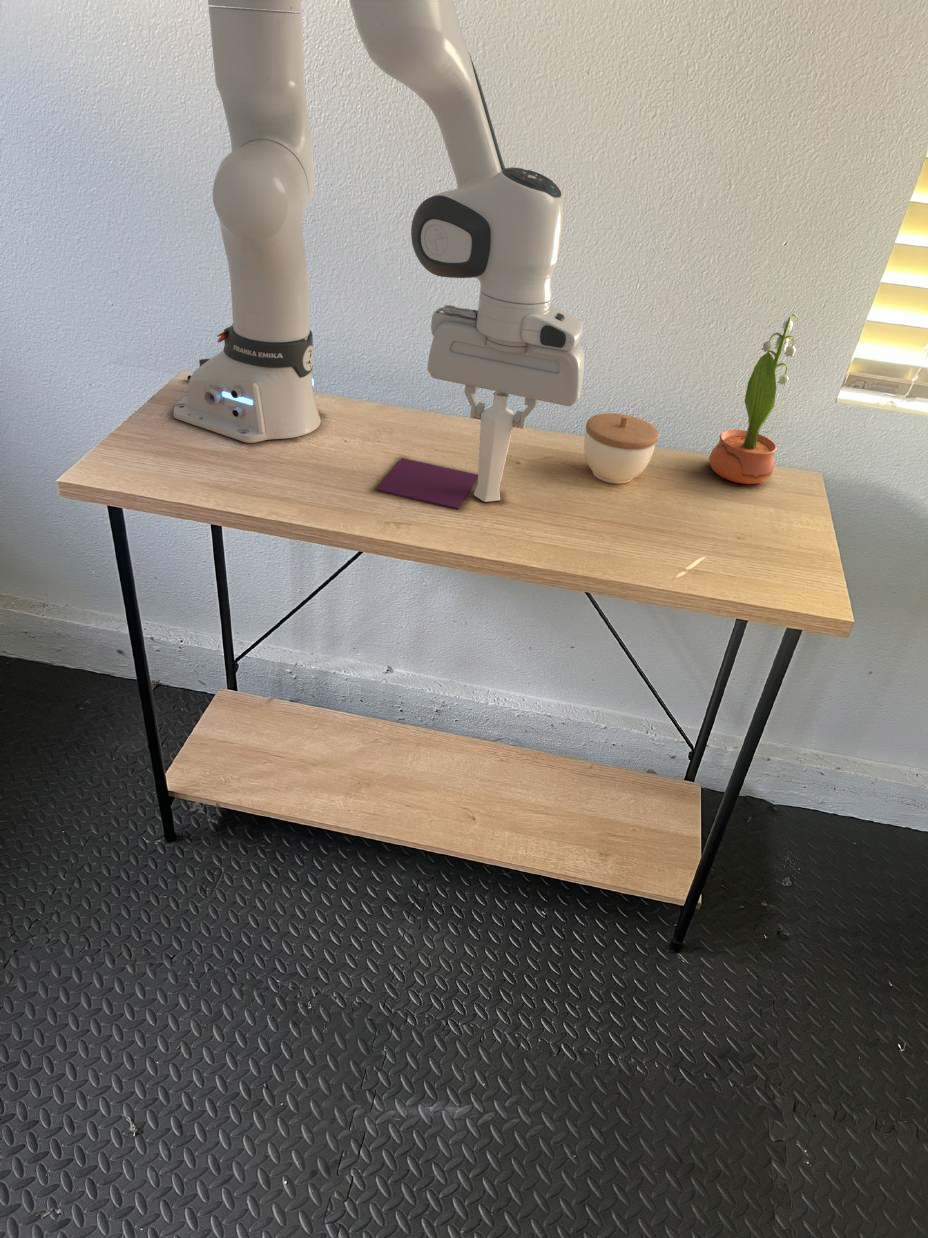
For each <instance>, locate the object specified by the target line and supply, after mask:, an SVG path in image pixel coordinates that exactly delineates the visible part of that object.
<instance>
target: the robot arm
mask: <svg viewBox="0 0 928 1238" xmlns="http://www.w3.org/2000/svg"><path fill="white" fill-rule="evenodd" d="M348 1H349V4H350V9H351V12H352V16H353V20H354V24H355V27H356V31H357V32H358V35H359V37H360V40H361V42H362V44H363V46H364V48H365V51H366V52H367V55H368V56H369V58H370V60H371V61H372V62H373V64H375V66H377V68H379V70H381V72H383V73H384V74H386V75H387V76H389V77H391V78H393V79H394V80H396V81H398V82H399V83H400V84H402V85H404V86H405V87H407V88H408V89H409V90H411V91H412V92H413V93H415V94H416V95H417V96H418V97H419V98H420V99H421V100H422V101H423V102H424V103H425V104H426V106H428V108H429V110H430V111H431V113H432V114H433V115H434V117H435V119H436V122H437V124H438V127H439V129H440V133H441V136H442V140H443V142H444V145H445V149H446V152H447V155H448V158H449V161H450V164H451V167H452V170H453V174H454V177H455V181H456V188H454V189H450V190H446V191H441V192H439V193H436V194H433V195H431V196H430V197H427V198H426V199H425V200H423V201H422V202H421V203H420V204H419V205H418V207H417V208H416V210H415V212H414V213H413V214H414V215H413V217H412V221H411V228H410V237H411V244H412V248H413V252H414V254H415V256H416V258H417V260H418V261H419V263H420V264H421V266H422V267H423V269H425V270H426V271H428V272H429V273H430V274H432V275H435V276H436V277H441V278H448V279H450V278H451V279H472V278H474V279H477V280H478V281H479V284H480V290H479V296H478V305H477V309H471V308H463V307H457V306H454V305H451V304H445V305H444V306H442V307H438V308H437V309H436V310H435V311H433V313H432V316H431V322H430V323H431V324H430V331H431V334H432V336H433V337H432V340H431V344H430V350H429V354H428V360H427V372H428V374H429V375H430V376H431V378H433V379H435V380H441V381H446V382H450V383H455V384H459V385H464V395H465V397H466V399H467V402H468V403H469V406H470V413H469V414H470V415H469V417H470V418H471V419H476V420H480V421H481V412H482V411H484V410H486V409H485V408H486V403H484V402H480V400H479V397H478V394H477V392H478V391H479V389H482V390H483V389H484V390H489V391H493V392H496V391H497V392H502V393H507V394H509V395H512V396H516V397H521V398H525V399H524V405H525V406H526V407H525V408H524V410H523V411H522V410H516V411H515V413H514V422H513V428H517V429H521V430H524V429H525V427H526V424H527V420H528V415H529V414H530V413H531V412H532V411H533V410H534V409H535V407H536V405H537V404H538V403H539V401H540V402H546V403H550V404H554V405H559V406H564V407H572V406H574V405H575V404H576V403H577V402H578V401H579V399H580V397H581V395H582V391H583V383H584V375H585V351H584V348H583V346H582V345H581V343H580V341H581V338H582V335H583V331H584V324H583V322H582V321H581V320H579V319H578V318H577V317H574V316H573V315H570V314H569V313H567V312H565V311H563V310H562V309H560V308H558V307H557V306H555V305H554V304H552V299H553V298H552V297H553V290H552V277H553V273H554V271H555V268H556V266H557V264H558V261H559V255H560V249H561V248H560V247H561V242H562V241H561V240H562V232H563V220H564V202H563V200H564V199H563V194H562V191H561V189H560V187H559V186H558V185H557V184H556V183H555V182H554V181H553V179H550V178H549V177H547V176H545V175H544V174H541V173H539V172H536V171H534V170H531V169H524V168H523V167H522V168H521V167H514V166H513V167H506V166H505V163H504V161H503V158H502V154H501V150H500V148H499V143H498V140H497V137H496V133H495V129H494V126H493V123H492V119H491V116H490V113H489V108H488V105H487V102H486V98H485V96H484V95H485V94H484V91H483V89H482V85H481V82H480V78H479V76H478V73H477V70H476V68H475V65H474V62H473V60H472V56H471V54H470V50H469V48H468V46H467V43H466V41H465V38H464V37H465V36H464V34H463V31H462V29H461V25H460V22H459V18H458V14H457V10H456V7H455V3H454V0H348ZM207 4H208V15H209V26H210V37H211V49H212V57H213V60H212V61H213V70H214V79H215V80H214V81H215V85H216V88H217V91H218V93H219V95H220V98H221V102H222V106H223V110H224V114H225V119H226V123H227V129H228V133H229V138H230V145H231V146H230V147H231V152H230V153H228V154H227V155H225V157H224V158H223V159H222V161H221V162H220V164H219V166H218V168H217V169H216V173H215V176H214V180H213V185H212V203H213V207H214V210H215V213H216V214H217V217H218V221H219V226H220V232H221V237H222V242H223V248H224V252H225V255H226V261H227V265H228V273H229V279H230V280H229V281H230V294H231V295H230V297H231V298H230V299H231V313H232V314H231V315H232V325H230V326H228V327H226V328H224V329H223V331H222V332H221V333H219V334H217V335H216V337H218V339H217V343H222V342H224V346H223V350H221V351H220V352H218V353H217V354H215V355H214V356H212V357H211V358H201V359H199V361H198V362H199V367H198V368H196V369H195V370H194V371H193V373H192V374H189V375H187V380H188V386H187V394H186V395H185V396H184V397H182V398H181V399H180V400H178V401H177V402H176V403H175V405H174V407H173V418H174V419H176V420H179V421H182V422H185V423H187V424H190V425H193V426H196V427H199V428H202V429H205V430H208V431H210V432H213V433H216V434H220V435H222V436H225V437H228V438H231V439H233V440H237V441H239V442H243V443H246V444H254V443H260V442H263V441H268V440H284V439H293V438H297V437H298V438H299V437H303V436H305V435H309V434H310V433H312V432H314V431H315V430H317V429H318V428H319V427H320V425H321V424H322V423H321V422H322V420H321V416H320V413H319V410H318V406H317V401H316V396H315V391H314V385H315V384H314V381H315V380H314V378H313V373H312V371H313V367H314V339H313V331H312V330H311V326H310V325H311V324H310V323H311V322H310V321H311V319H310V314H311V313H310V312H311V310H310V306H311V305H310V298H311V297H310V274H309V270H308V265H307V256H306V249H305V248H306V247H305V239H304V215H305V211H306V210H307V209H308V207H309V206H310V204H311V203H312V200H313V198H314V195H315V191H316V176H315V175H316V173H315V172H316V171H315V161H314V159H315V158H314V151H313V140H312V139H313V138H312V130H311V124H310V116H309V109H308V101H307V95H306V93H307V92H306V81H305V80H306V79H305V78H306V77H305V59H304V57H305V55H304V35H303V34H304V32H303V31H304V30H303V13H302V12H303V10H302V8H303V7H302V0H207Z"/></svg>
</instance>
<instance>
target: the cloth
mask: <svg viewBox="0 0 928 1238" xmlns="http://www.w3.org/2000/svg"><path fill="white" fill-rule="evenodd" d="M477 481H478V474H476V473H472V472H468V471H462V470H457V469H454V468H449V467H444V466H440V465H436V464H430V463H426V462H422V461H417V460H413V459H408V458H404V457H402V458H401V459H400V460H399V461H398V462H397V464H396V465H395V466H394V467H393V468H392V469H391V471H390V472H389V473H388V474H387V475H386V476H385V477H384V479H383V480H382V481H381V482H380V483H379V484H378V485H377V486H376V488H375V491H376V492H380V493H385V494H389V495H393V496H398V497H402V498H407V499H410V500H414V501H419V502H423V503H427V504H431V505H437V506H441V507H446V508H450V509H453V510H454V509H455V510H459V509H460V507H461V505H462V504H463V502H464V500H465V499H466V497H467V496H468V494H469V493H470V491H471V490H472V488H473V486H475V484H476V482H477Z"/></svg>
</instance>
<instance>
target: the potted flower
mask: <svg viewBox="0 0 928 1238" xmlns="http://www.w3.org/2000/svg"><path fill="white" fill-rule="evenodd" d="M793 316H794V317H795V318H796V320H797V326H799V323H800V319H799V317H798V315H797V314H795V313H791V315H790V316H789V317H788V318H787V320H785V321H783V323H782V326H781V329H783V333H782V334H781V333H780V332H774V333H773V334H771V336H770V338H769V340H767V341H764V342H763V344H762V347H761V350H762V351H763V353H765V354H763V355H762V356H760V357H759V359H758V361H757V363H756V364H755V365H754V366H753V367H754V368H753V370H752V372H751V375H750V377H749V380H748V382H747V386H746V391H745V396H744V405H745V408H746V413H747V419H748V426H747V430H745V429H729V430H725V431H722V432H721V433H720V435H719V441H718V443H717V444H716V445H715V446H714V447H713V449H712V450H711V452H710V454H709V457H708V462H709V464H710V468H711V469H712V471H713V472H714V473H716V474H717V475H718V476H719V477H721V478H723V479H724V480H727V481H730V482H733V483H736V484H742V485H754V484H760V483H764V482H765V481H766V480H768V479H769V478H770V477H771V476H772V475H773V474H774V469H775V459H774V454H775V452H776V451H777V449H778V447H777V445H776V443H775V442H774V441H773V440H772V439H771V438H769V437H767V436H765V435H762V434H760V431H761V429H762V427H763V425H764V424H765V423H766V421H767V420H768V418H769V416H770V414H771V413H772V411H773V409H774V408H775V401H776V393H777V384H779V385H782V386H783V385H784V386H787V385H788V382H789V379H790V378H789V376H788V375H787V371H788V364H787V363H786V362H780V363H779V360H780V358H781V355H782V352H783V354H784V355H785V357H791V358H794V356H795V353H796V349H797V348H796V347H795V346H794V344H795V337H794V336H793V335H791V334H790V335H787V334H788V332H791V330H792V328H793V325H794V322H793V321H792V317H793ZM774 336H777V339H776V341H775V344H773V342H772V341H771V340H772V338H773V337H774ZM789 339H791V341H792V344H791V345H788V344H789ZM774 346H775V347H774ZM772 348H773V349H774V350H776V352H775V351H774V350H772ZM773 356H774V357H773ZM783 365H784V366H785V372H784V374H781V375H780V376H779V377H778V381H777V379H776V371H777V368H778V367H780V366H783Z"/></svg>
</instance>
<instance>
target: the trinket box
mask: <svg viewBox="0 0 928 1238" xmlns="http://www.w3.org/2000/svg"><path fill="white" fill-rule="evenodd" d="M658 439H659V431H658V429H657V428H656V427H655V426H654V425H653V424H651V423H650V422H648V421H646V420H644V419H641V418H639V417H636V416H632V415H628V414H623V413H599V414H594V415H592V416H591V417H589V418H588V419H587V421H586V424H585V434H584V440H583V441H584V442H583V453H584V458H585V461H586V464H587V466H588V467H589V469H590V470H591V471H592V474H593V476H594V477H595V478H597V479H598V480H600V481H602V482H605V483H609V484H616V485H617V484H618V485H620V484H621V485H623V484H627V483H629V482H631V481H632V480H633V479H634V478H636V477H638V476H639V475H641V474H642V473H643V471H645V469H646V468H647V467H648V465H649V463H650V461H651V459H652V456H653V454H654V451H655V447H656V444H657V442H658Z"/></svg>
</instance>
